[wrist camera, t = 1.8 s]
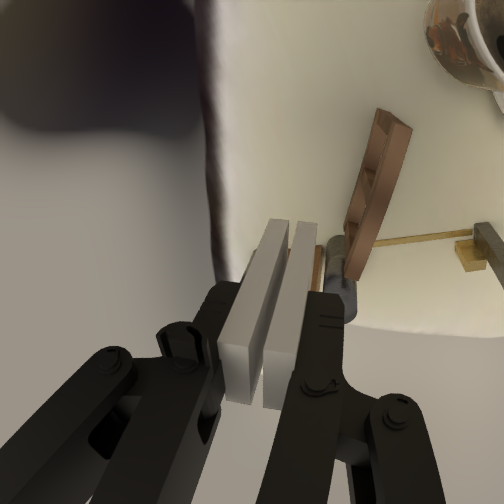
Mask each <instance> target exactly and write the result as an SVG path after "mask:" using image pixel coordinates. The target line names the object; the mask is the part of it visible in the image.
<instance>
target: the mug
mask: <svg viewBox="0 0 504 504" xmlns="http://www.w3.org/2000/svg"><path fill="white" fill-rule="evenodd" d="M424 30H425V36H426V40H427V43H428V46H429V48H430V50H431V52H432V54H433V56H434V58H435V59H436V60H437V62H438V63H439V65H440V66H441V67H442V68H443V69H444V70H445V71H446V72H447V73H448V74H449V75H450V76H452V77H453V78H454V79H456V80H457V81H459V82H461V83H463V84H465V85H468V86H471V87H475V88H480V89H485V90H490V91H492V92H493V95H494V98H495V100H496V102H497V104H498V106H499V108H500V109H501V111H502V113H503V114H504V0H432V1H431V2H430V4H429V5H428V7H427V10H426V13H425V18H424Z"/></svg>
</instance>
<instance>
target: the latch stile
mask: <svg viewBox="0 0 504 504" xmlns="http://www.w3.org/2000/svg"><path fill="white" fill-rule="evenodd" d="M455 252H456V254H457V256H458V258H459V260H460V262H461V264H462V266H463V268H464V270H465V272H471V271H478V270H485V269H486V263H487V261H488V262H489V264H490V266H491V267H492V269H493V271H494V273H495V274H496V276H497V278H498V280H499V282H500V283H501V285H502V287H503V289H504V242H503V241H502V239H501V238H500V237H499V235H498V234H497V233H496V231H495V230H494V229H493V227H492V226H491V225H490V223H489V222H485V223H477V224H475V227H474V239H473V240H465V241H457V242H456V246H455Z"/></svg>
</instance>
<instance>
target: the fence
mask: <svg viewBox="0 0 504 504" xmlns="http://www.w3.org/2000/svg"><path fill="white" fill-rule="evenodd" d="M472 233H473V230H472V229H468V230H461V231H452V232H444V233H436V234H428V235H420V236H412V237H404V238H396V239H388V240H380V241H375V242H374V245H373V247H379V246H388V245H396V244H404V243H412V242H420V241H428V240H436V239H444V238H452V237H460V236H468V235H472ZM256 250H257V249H256ZM256 250H255V251H254V252H253V254H252V256H251V259H250V261H249V263H248V265H247V268H246V270H245V272H244V274H243V277H242V279H241V281H240V283H243V280H244V278H245V276H246V273H247V271H248V269H249V266H250V264H251V262H252V259H253V257H254V255H255V253H256ZM290 251H291V249H288V257H287V262H288V259H289V255H290ZM322 262H323V251H322V246H321V245H318V246H315V254H314V264H313V274H312V282H311V289H310V291H316V292H319V290H320V281H321V271H322ZM344 266H345V236H343V235H338V236H334V237H333V238H331V239H330V240H329V241H328V243H327V249H326V261H325V273H324V283H323V292H325V293H334V294H339V296H340V297H341V299H342V301H343V303H344V305H345V316H344V324H346V323H349V322H351V321H352V320H353V319H354V318H355V317H356V315H357V285H356V280H352V279H348V278H344Z"/></svg>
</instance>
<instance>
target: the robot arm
mask: <svg viewBox="0 0 504 504" xmlns="http://www.w3.org/2000/svg"><path fill="white" fill-rule="evenodd" d="M316 232H317V223H310V222H300V221H298V224H297V228H296V232H295V235H294V239H293V243H292V247H291V251H290V255H289V259H288V262H287V257H288V233H289V220H279V219H270V220H269V222H268V225H267V227H266V229H265V232H264V234H263V236H262V239H261V241H260V243H259V246H258V248H257V250H256V253H255V255H254V257H253V259H252V262H251V264H250V266H249V269H248V271H247V273H246V276H245V278H244V280H243V283H237V282H229V281H222V280H221V281H220V282H219V283H217V284H216V285H215V286H213V287H212V288H211V289H210V290H209V292H208V294H207V296H206V298H205V301H204V302H203V303H202V305H201V307H200V310H199V311H198V313H197V315H196V317H195V318H194V320H193V322H184V321H182V322H181V321H179V322H175V323H171V324H169V325H167V326H165V327H163V328H162V329H161V330H160V331H159V332H158V333H157V334H156V338H157V342H158V345H159V347H160V351H161V353H162V356H161V357H155V358H132V356H131V354H130V352H128V351H127V350H126V349H125V348H122V347H119V346H109V347H105V348H103V349H100V350H99V351H98V352H96V353H95V354H94V355H93V356H92V357H91V358H90V359H88V361H86V362H85V363H84V364H83V365H82V366H81V367H80V368H79V369H78V370H77V371H76V372H75V373H74V374H73V375H72V376H71V377H70V378H69V379H68V380H67V381H66V382H65V383H64V384H63V385H62V386H61V387H60V388H59V389H58V390H57V391H56V392H55V393H54V394H53V395H52V396H51V397H50V398H49V399H48V400H47V401H46V402H45V403H44V404H43V405H42V406H41V407H40V408H39V409H38V410H37V411H36V412H35V413H34V414H33V415H32V416H31V417H30V418H29V419H28V420H27V421H26V422H25V423H24V424H23V425H22V427H20V429H19V430H18V431H17V432H16V433H15V434H14V435H13V436H12V437H11V438H10V439H9V440H8V441H7V442H6V443H5V444H4V445H3V446H2V448H1V449H0V504H85V503H86V502H87V501H88V500H89V498H90V497H91V496H92V495H93V496H92V498H91V501H90V502H89V504H191V502H192V499H193V496H194V493H195V490H196V487H197V484H198V481H199V478H200V476H201V473H202V470H203V467H204V464H205V461H206V458H207V455H208V453H209V449H210V446H211V444H212V441H213V437H214V435H215V432H216V429H217V426H218V423H219V420H220V417H221V406H220V404H221V401H222V398H223V396H224V393H225V396H226V400H228V401H232V402H237V403H242V404H247V405H251V403H252V400H253V396H254V393H255V390H256V386H257V383H258V379H259V376H260V373H261V369H262V366H263V408H269V409H276V410H281V415H280V419H279V423H278V427H277V431H276V434H275V438H274V442H273V446H272V449H271V453H270V457H269V460H268V464H267V467H266V470H265V474H264V477H263V481H262V484H261V488H260V491H259V494H258V497H257V500H256V504H327V500H328V495H329V490H330V485H331V479H332V473H333V467H334V460H335V459H338V460H340V461H342V462H345V463H346V469H347V477H348V484H349V492H350V493H349V494H350V502H351V504H446V501H445V497H444V492H443V488H442V484H441V479H440V475H439V471H438V468H437V463H436V460H435V456H434V452H433V449H432V445H431V442H430V438H429V435H428V431H427V428H426V424H425V421H424V418H423V415H422V411H421V410H420V408H419V406H418V404H417V403H416V402H415V401H413V400H412V399H411V398H410V397H408V396H405V395H403V394H392V393H390V394H387V395H384V396H381V397H380V398H379V399H376V398H373V397H371V396H368V395H365V394H363V393H361V392H359V391H357V390H355V389H354V388H353V387H351V386H350V385H349V384H348V382H347V381H346V379H345V378H344V375H343V370H342V360H343V341H344V316H345V305H344V303H343V301H342V299H341V297H340V296H339V294H334V293H325V292H316V291H310V289H311V282H312V274H313V264H314V254H315V243H316Z"/></svg>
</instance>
